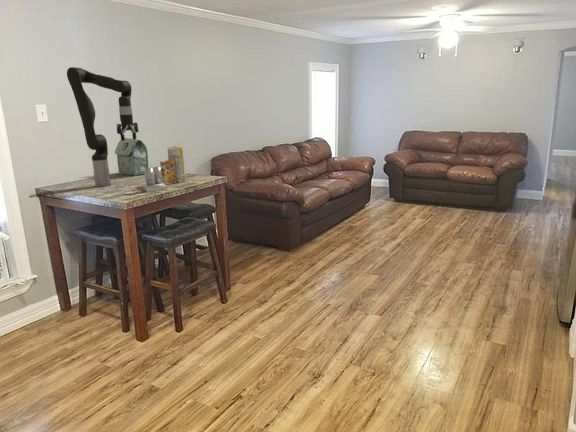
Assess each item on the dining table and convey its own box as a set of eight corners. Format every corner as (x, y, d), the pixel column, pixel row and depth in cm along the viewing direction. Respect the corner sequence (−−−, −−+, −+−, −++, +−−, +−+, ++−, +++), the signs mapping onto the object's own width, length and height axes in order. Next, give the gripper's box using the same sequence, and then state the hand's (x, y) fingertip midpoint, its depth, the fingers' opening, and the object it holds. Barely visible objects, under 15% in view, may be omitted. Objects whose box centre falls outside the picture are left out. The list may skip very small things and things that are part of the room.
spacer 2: (155, 184, 277) (153, 168, 274) (154, 183, 281) (152, 167, 278) (162, 183, 279) (161, 167, 276) (161, 182, 282) (159, 166, 280)
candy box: (166, 185, 291) (164, 161, 287) (162, 184, 293) (159, 161, 289) (176, 182, 298) (174, 159, 294) (172, 182, 300) (170, 159, 296)
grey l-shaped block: (147, 192, 271) (144, 173, 268) (142, 188, 284) (140, 170, 281) (167, 189, 276) (165, 171, 273) (161, 185, 289) (160, 168, 286)
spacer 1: (147, 186, 272) (145, 169, 269) (146, 184, 276) (144, 168, 273) (155, 185, 274) (153, 168, 271) (153, 184, 278) (151, 168, 275)
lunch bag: (115, 174, 340) (111, 138, 333) (135, 171, 352) (131, 136, 345) (132, 177, 325) (127, 139, 318) (152, 173, 337) (147, 137, 330)
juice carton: (187, 180, 304) (184, 145, 298) (180, 182, 297) (176, 146, 291) (176, 179, 308) (173, 144, 302) (169, 182, 301) (165, 146, 295)
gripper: (131, 113, 287) (134, 138, 292) (112, 114, 276) (115, 140, 280) (139, 113, 283) (141, 139, 288) (120, 114, 272) (123, 141, 276)
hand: (128, 140), depth 284 cm, fingers open, 8 cm apart
